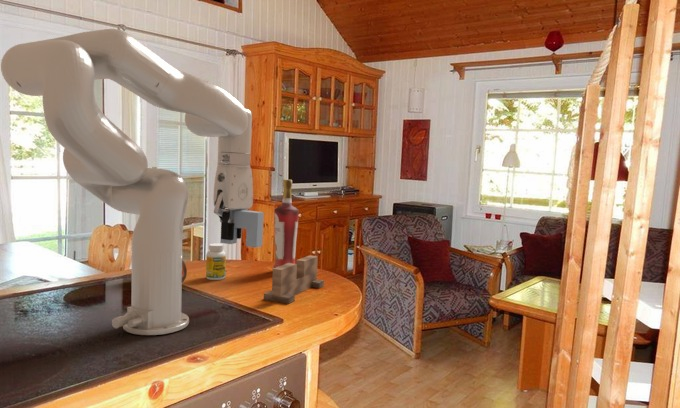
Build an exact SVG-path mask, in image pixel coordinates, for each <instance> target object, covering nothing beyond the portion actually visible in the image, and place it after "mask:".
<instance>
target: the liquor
mask: <svg viewBox="0 0 680 408" xmlns="http://www.w3.org/2000/svg"><path fill="white" fill-rule="evenodd" d="M282 180H283V181H282V188H283V193H282V202H281V205H279V206H277V207H275V209H274V265H273V268H276V267H279V266H282V265H284V264H287V263H293V264H296V249H297V248H296V247H297V236H298V228H299V216H300V215H299V213H300V210H299V209H298V208H297V207H296V206H294V205H293V204H292V188H293V180H292V179H284V178H283V179H282Z"/></svg>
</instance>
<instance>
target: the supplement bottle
mask: <svg viewBox="0 0 680 408" xmlns="http://www.w3.org/2000/svg"><path fill="white" fill-rule="evenodd" d="M224 247H225V246H224V243H218V242H217V243H209V244H208V250H209V251H207V252H206V258H205V260H206V262H205V269H206V270H205V278H206V280H210V281H221V280H224V279H226V267H227V266H226V265H227V264H226V263H227V261H226V260H227V258H226V257H227V255H226V252H225V251H224V249H225V248H224Z"/></svg>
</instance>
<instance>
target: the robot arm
mask: <svg viewBox="0 0 680 408" xmlns="http://www.w3.org/2000/svg"><path fill="white" fill-rule="evenodd" d="M0 61H1V62H0V71H1V72H0V73H1V75H2V77H3V79H4V81H5V82H6V83H7V85H8V86H9V87H11V89H13V90H14V91H16V92H18V93H19V94H23V95H27V96H31V97H33V96H34V97H39V96H40V97H42V108H43V115H44V120H45V125H46V128H47V129H48V131H49V133H50V135H51V136H52V137H53V139H54V140H55V141H56V142H57V143H58V144H60V146H61V147H63V148H64V149H63V152H62V161H63V165H64V168H65V170H66V173H67V174H68V175H69V176H70V178H71V179H72V180H73V181H74V182H76V184H78V185H79V186H80V187H82V188H84V189H85V190H86V191H87V192H88V193H90V194H92V195H93V196H95V197H96V198H98V200H100V201H102V202H103V203H104V204H106V205H107V206H108V207H110V208H111V209H114V210H116V211H118V212H121V213H124V214H126V213H127V214H132V215H138V220H137V221H136V224H135V226H134V229H133V232H132V235H131V236H132V237H131V296H130V297H131V299H130V300H131V305H130V306H127V310H126V311H127V312H125V313H124V315H120V316H117V317H114V318H113V319H112V320H111V326H112V327H113V328H114V329H119V328H121V327H122V328H123V330H124V331H125V332H127V333H130V334H133V335H139V336H157V335H168V334H171V333H176V332H179V331H181V330H183V329H185V328H187V326H188V325H189V323H190V317H189V316H188V314H186V313H184V312H182V293H183V292H182V286H183V285H182V284H183V283H182V260H183V235H184V234H183V233H184V232H183V230H184V221H185V215H186V210H187V207H188V201H189V188H188V185H187V182H186V181H185V179H184V178H183V177H182V176H181V175H180V174H179V173H176V172H175V171H172V170H170V169H164V168H155V167H154V168H153V167H152V168H151V167H148V166H149V165H148V158H147V156H146V153H145V152H144V151H143V149H142V148H141V147H140V146H139V145H138V143H136V142H135V141H134V140H133V139H132V138H131V137H129V136H128V135H127V134H126V133H125V132H124V131H123V130H122V129H120V128H119V127H118V126H117V125H116V124H115V123H114V122H113V121H111V120H110V119H109V118H108V116H107V115H105V113H103V111H102V110H101V109H100V107H99V106H98V103H97V101H96V95H95V80H107V79H108V80H111V81H113V82H114V83H116V84H118V85H120V86H121V87H122V88H125V89H126V90H128V91H129V92H131V93H133V94H134V95H136V96H137V97H139V98H141V99H142V100H144V101H145V102H147V103H148V104H151V105H152V106H154V107H157V108H160V109H163V110H167V111H170V112H178V113H183V114H184V123H185V126H186V127H187V129H188V130H189V132H191V133H192V134H194V135H195V136H198V137H204V138H205V137H206V138H209V137H210V138H216V137H217V138H218V139H217V167H216V170H215V177H214V185H213V195H212V196H213V201H212V202H213V206H214V208H213V213H214V214H215V215H217V216H218V218H219V222H220V240H221V239H225V240H233V239H234V223H232V221H233V210H246V211H250V209H251V208H252V207H253V203H254V182H253V181H254V179H253V173H252V171H253V170H252V168H251V152H252V150H251V149H252V134H253V133H252V132H253V131H252V128H253V114H252V111H251V110H250V109H248V108H245V107H244V105H243V104H242V103H241V102H240V101H239V100H238V99H237V98H235V97H234V95H233V96H232V95H231V94H230V93H229V92H228V91H226V90H225V89H223V88H222V87H219V86H218V85H215V84H214V83H211V82H209V81H206V80H204V79H202V78H199V77H197V76H194V75H192V74H190V73H187V72H184V71H182V70H180V69H177V68H176V67H174V66H173V65H172V64H170V62H167V60H165V59H163V58H162V57H161V56H159V55H158V53H157V54H156V53H155V52H154V51H153V50H151V49H150V48H149V47H147V46H146V45H145V44H143V43H142V42H141V41H139V40H138V39H137V38H135V37H134V36H133V35H131V34H129V33H128V32H127V31H124V30H121V29H116V28H105V29H97V30H90V31H89V30H88V31H83V32H78V33H74V34H69V35H64V36H59V37H53V38H48V39H42V40H37V41H31V42H30V41H29V42H25V43H20V44H19V43H18V44H15V45H13V46H12V47H10V48H9V49H8V50H6V52H5V53H4V54H3V57H2V58H1V60H0ZM226 212H228V214H227V213H226ZM242 231H243V229H242V228H237V239H238V240H240V239H242V235H243V234H242Z"/></svg>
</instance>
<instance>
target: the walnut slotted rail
mask: <svg viewBox="0 0 680 408" xmlns="http://www.w3.org/2000/svg"><path fill="white" fill-rule="evenodd" d="M318 257H319V256H318V255H309V254H308V255H307V256H305V257H301V258H299V259H295V264H293V263H287V264H284V265H282V266H279V267H276V268H274V267H272V275H271V276H272V278H271V279H272V281H271V290H269V291H266V292H264V293H263V300H264V301H271V302H274V303H281V304H286V305H290V304H291V303H294V302H295V301H296V299H295V298H296V295H298V294H300V293H303V292H305V291H306V290H309V289H311V288H314V289H315V288H316V289H321V288H323V287H324V286H325V280H324V279H323V280H322V279H318Z"/></svg>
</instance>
